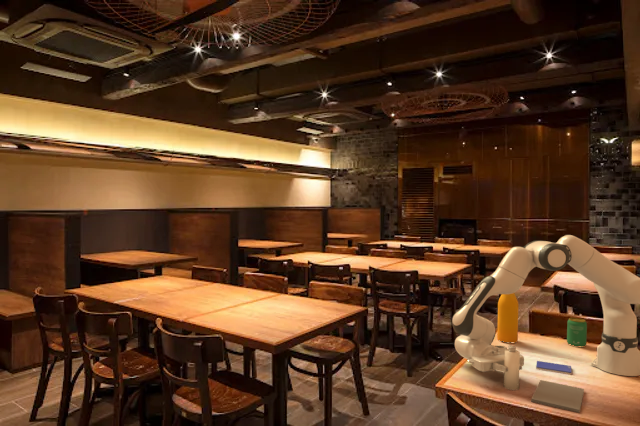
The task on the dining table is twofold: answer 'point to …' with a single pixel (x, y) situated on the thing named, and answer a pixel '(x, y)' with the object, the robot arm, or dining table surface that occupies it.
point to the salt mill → (511, 368)
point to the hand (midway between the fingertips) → (513, 368)
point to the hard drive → (553, 367)
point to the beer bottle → (507, 318)
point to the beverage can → (576, 331)
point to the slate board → (558, 396)
